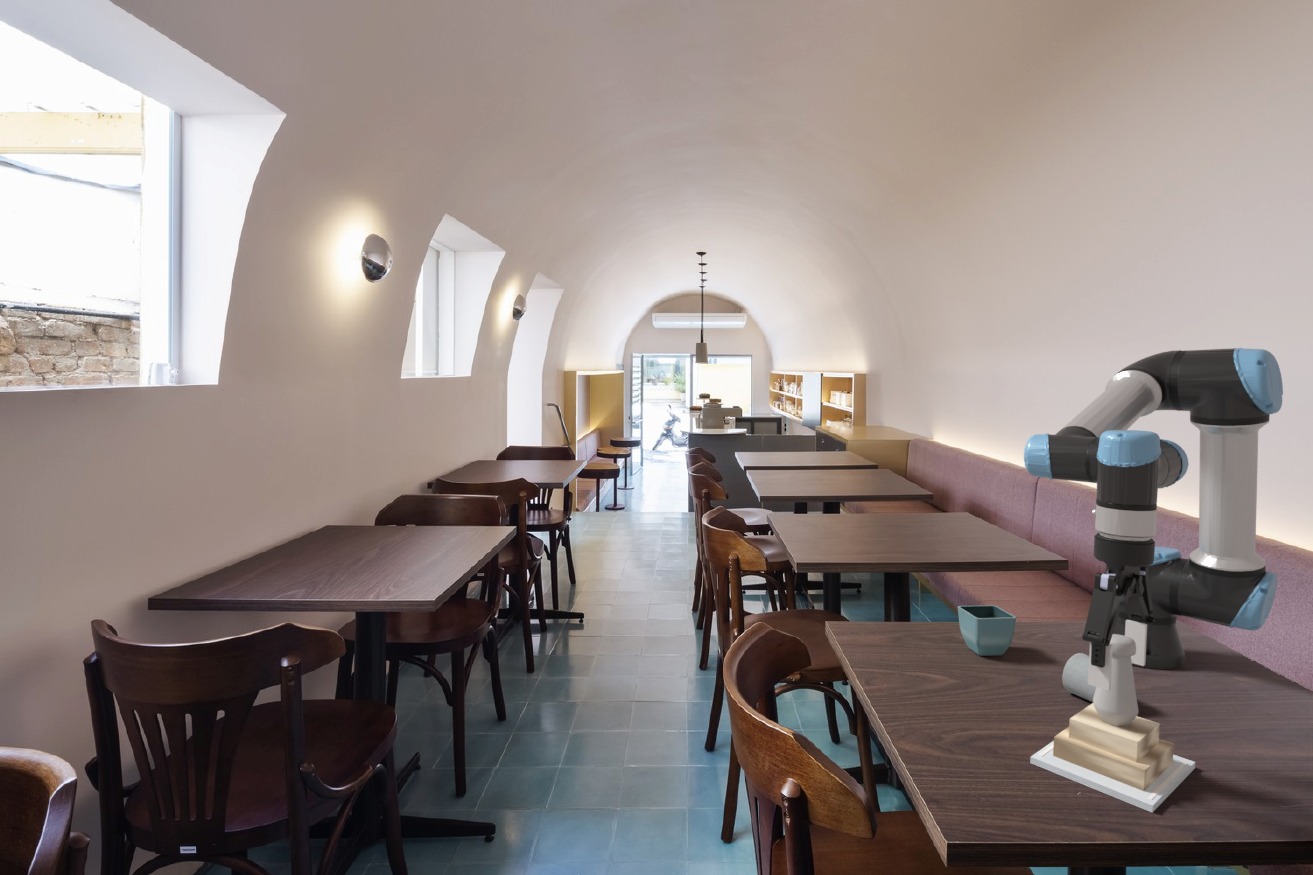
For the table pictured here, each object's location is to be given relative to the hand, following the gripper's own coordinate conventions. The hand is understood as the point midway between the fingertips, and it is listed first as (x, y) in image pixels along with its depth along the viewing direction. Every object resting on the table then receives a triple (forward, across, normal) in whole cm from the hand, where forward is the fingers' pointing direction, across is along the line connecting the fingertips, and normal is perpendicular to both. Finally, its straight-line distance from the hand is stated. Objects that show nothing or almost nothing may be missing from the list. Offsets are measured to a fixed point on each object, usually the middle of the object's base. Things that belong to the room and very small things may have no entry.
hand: (1117, 674), depth 107 cm
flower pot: (+15, -29, -35) cm, 48 cm away
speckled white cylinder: (+15, -24, -11) cm, 30 cm away
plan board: (+14, 0, 0) cm, 14 cm away
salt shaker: (+7, 0, 0) cm, 7 cm away
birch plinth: (+14, 0, 0) cm, 14 cm away
